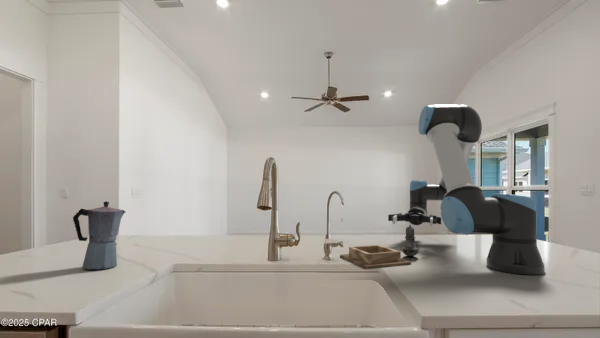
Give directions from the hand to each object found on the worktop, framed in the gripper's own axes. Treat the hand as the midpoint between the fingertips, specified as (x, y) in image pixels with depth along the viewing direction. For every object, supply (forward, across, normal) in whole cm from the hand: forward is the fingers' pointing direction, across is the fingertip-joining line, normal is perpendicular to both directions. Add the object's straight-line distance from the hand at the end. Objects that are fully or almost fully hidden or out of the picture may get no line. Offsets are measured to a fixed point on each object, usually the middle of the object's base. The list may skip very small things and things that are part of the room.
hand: (412, 221), depth 125 cm
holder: (+19, +11, -12) cm, 25 cm away
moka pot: (+66, +85, -12) cm, 108 cm away
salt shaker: (+10, 0, -12) cm, 16 cm away
